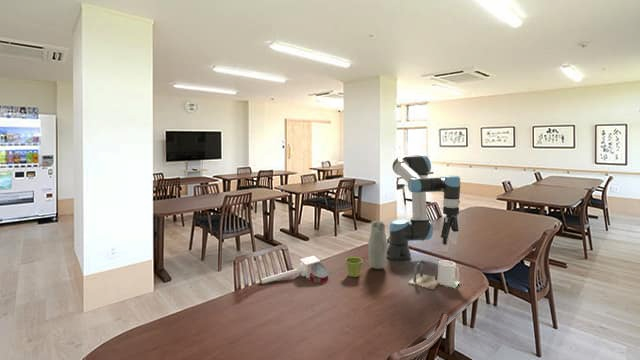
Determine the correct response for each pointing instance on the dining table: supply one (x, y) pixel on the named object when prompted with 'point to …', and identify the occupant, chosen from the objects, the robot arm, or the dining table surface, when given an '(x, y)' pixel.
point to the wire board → (424, 281)
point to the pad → (452, 285)
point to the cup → (447, 272)
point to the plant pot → (354, 266)
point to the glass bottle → (377, 245)
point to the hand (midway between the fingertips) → (449, 246)
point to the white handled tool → (302, 269)
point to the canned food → (318, 273)
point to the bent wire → (422, 269)
